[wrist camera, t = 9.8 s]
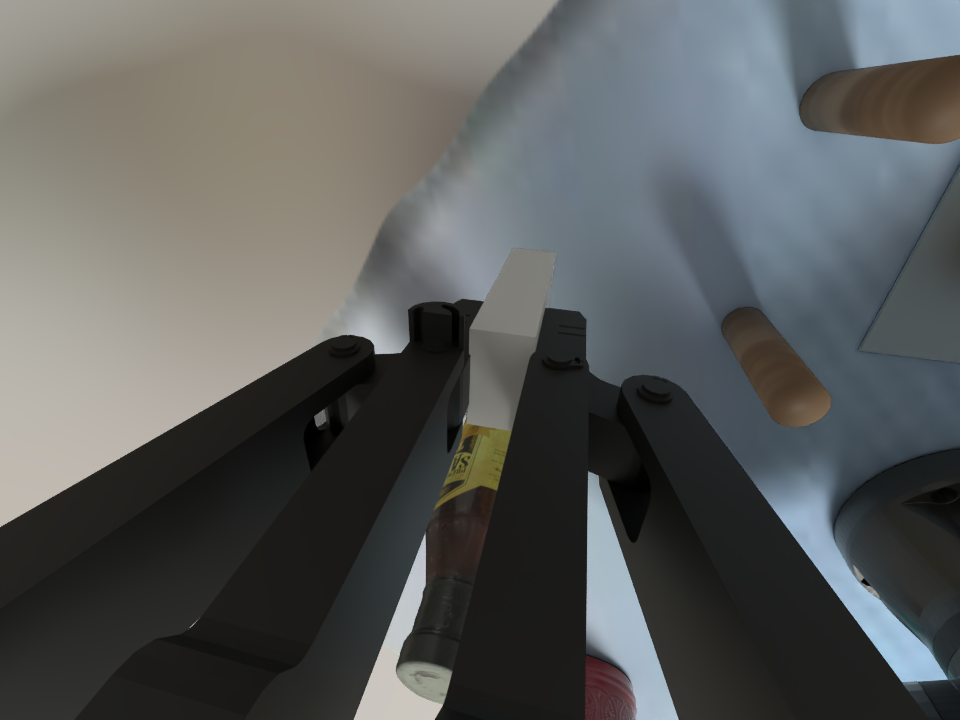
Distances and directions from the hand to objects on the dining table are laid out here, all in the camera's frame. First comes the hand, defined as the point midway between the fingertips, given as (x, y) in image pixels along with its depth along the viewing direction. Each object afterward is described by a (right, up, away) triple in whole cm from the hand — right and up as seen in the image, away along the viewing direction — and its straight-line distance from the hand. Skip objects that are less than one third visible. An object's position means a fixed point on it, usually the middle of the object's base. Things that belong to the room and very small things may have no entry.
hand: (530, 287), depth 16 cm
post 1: (+15, 0, +13) cm, 20 cm away
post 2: (+16, +10, +6) cm, 20 cm away
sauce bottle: (+1, -7, +21) cm, 22 cm away
